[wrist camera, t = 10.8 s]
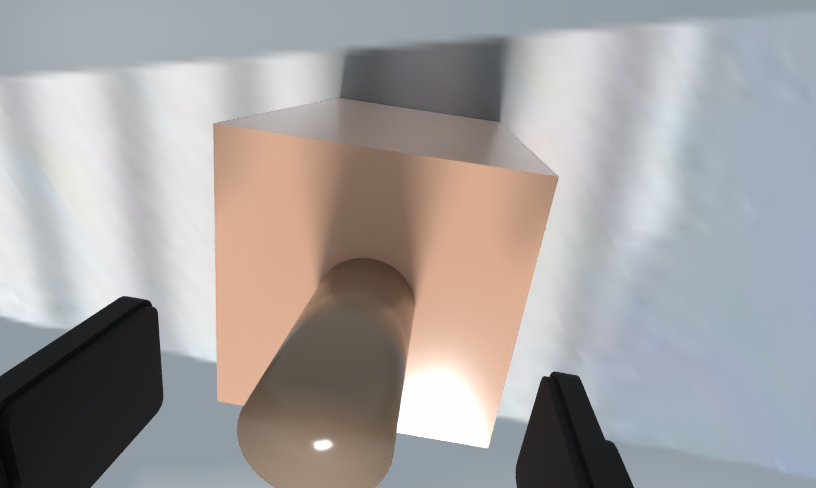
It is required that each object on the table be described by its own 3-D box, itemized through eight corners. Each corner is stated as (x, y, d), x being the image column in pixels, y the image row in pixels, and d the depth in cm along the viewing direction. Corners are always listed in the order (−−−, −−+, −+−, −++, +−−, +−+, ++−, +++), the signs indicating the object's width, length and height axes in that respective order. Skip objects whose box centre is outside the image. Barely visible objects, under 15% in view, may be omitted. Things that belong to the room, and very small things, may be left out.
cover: (499, 122, 28) (643, 254, 7) (469, 270, 31) (508, 641, 11) (338, 97, 28) (37, 158, 8) (326, 247, 32) (99, 566, 11)
